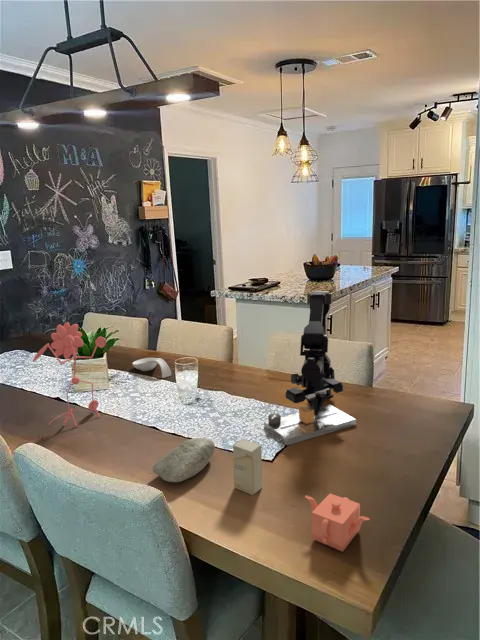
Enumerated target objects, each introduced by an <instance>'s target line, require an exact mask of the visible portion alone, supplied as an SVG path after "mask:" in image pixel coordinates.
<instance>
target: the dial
mask: <svg viewBox="0 0 480 640" xmlns="http://www.w3.org/2000/svg"><path fill="white" fill-rule="evenodd" d="M281 417H282V416H281V414H279V413H270V414H269V415H268V418H267V421H268V422H269V424H272V425H277V424H280V423H281Z"/></svg>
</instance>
